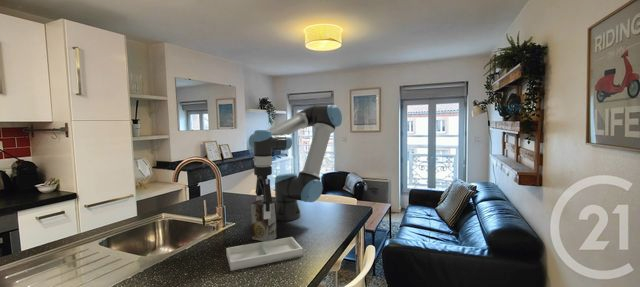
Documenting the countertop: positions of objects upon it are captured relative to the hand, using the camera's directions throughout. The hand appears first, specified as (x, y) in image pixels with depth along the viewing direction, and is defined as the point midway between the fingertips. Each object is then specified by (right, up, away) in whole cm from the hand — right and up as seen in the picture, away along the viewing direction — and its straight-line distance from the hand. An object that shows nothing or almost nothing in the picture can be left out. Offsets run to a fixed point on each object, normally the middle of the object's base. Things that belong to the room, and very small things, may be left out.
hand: (263, 214), depth 128 cm
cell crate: (+4, -12, -16) cm, 20 cm away
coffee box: (0, -11, +1) cm, 11 cm away
